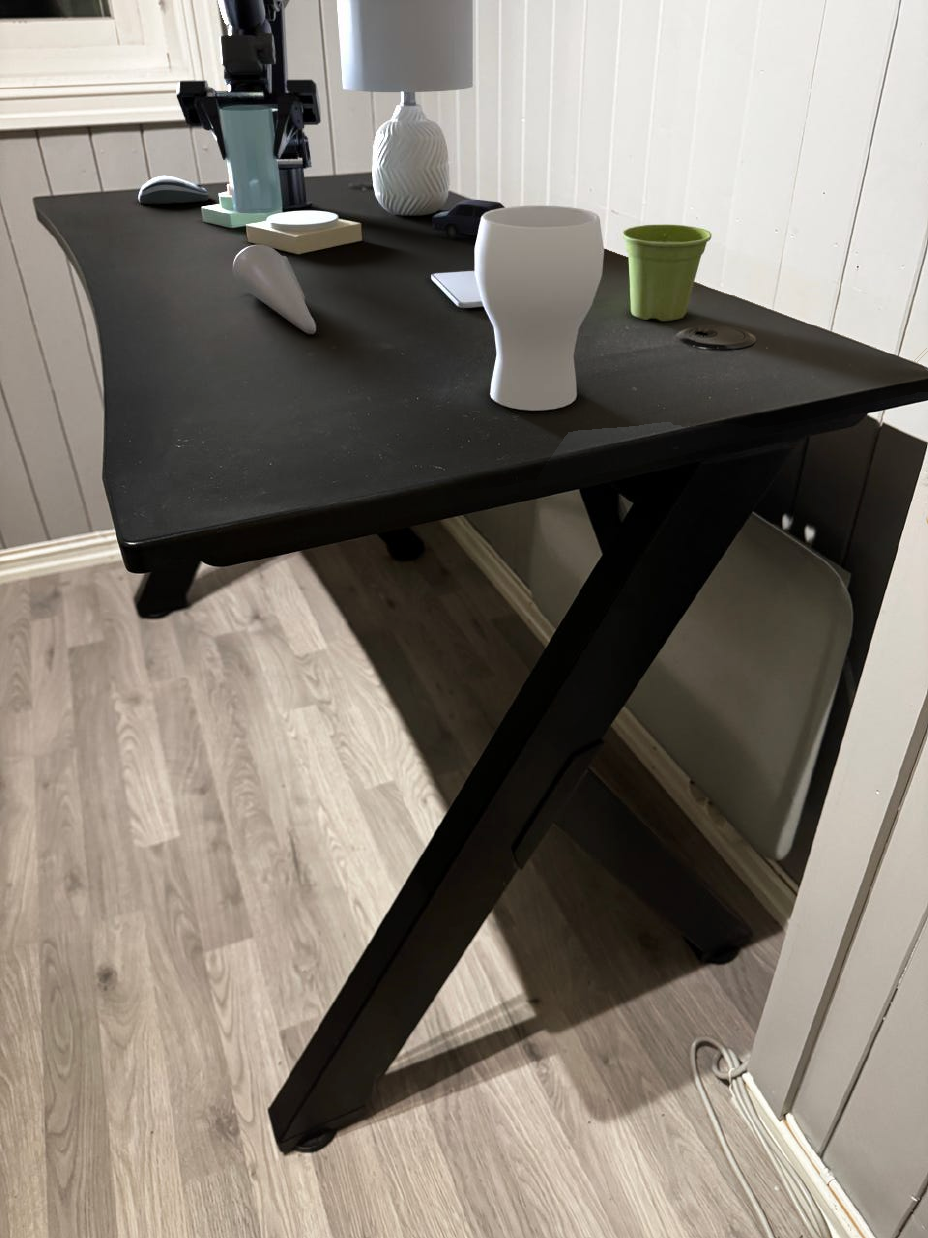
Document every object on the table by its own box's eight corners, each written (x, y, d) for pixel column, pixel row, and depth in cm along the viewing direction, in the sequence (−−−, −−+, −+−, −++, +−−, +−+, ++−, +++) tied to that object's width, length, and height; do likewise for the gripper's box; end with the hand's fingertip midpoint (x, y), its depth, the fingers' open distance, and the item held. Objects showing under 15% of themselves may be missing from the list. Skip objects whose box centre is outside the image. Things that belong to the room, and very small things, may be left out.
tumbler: (258, 201, 132) (246, 103, 124) (292, 207, 128) (282, 106, 121) (223, 209, 127) (208, 108, 120) (258, 215, 124) (245, 111, 117)
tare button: (242, 193, 148) (241, 181, 147) (256, 195, 146) (254, 183, 145) (224, 196, 146) (222, 184, 145) (237, 198, 143) (235, 186, 142)
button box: (254, 212, 153) (250, 186, 151) (283, 218, 148) (280, 192, 146) (203, 221, 147) (199, 194, 145) (231, 228, 142) (227, 200, 140)
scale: (311, 229, 141) (309, 206, 140) (362, 240, 135) (360, 216, 133) (247, 241, 134) (244, 217, 132) (297, 254, 127) (295, 229, 126)
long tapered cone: (258, 356, 95) (233, 292, 109) (318, 356, 98) (286, 293, 111) (258, 302, 92) (232, 243, 106) (320, 304, 94) (287, 245, 108)
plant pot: (649, 331, 97) (658, 246, 92) (599, 309, 104) (605, 229, 99) (717, 319, 100) (730, 236, 95) (664, 299, 107) (673, 220, 102)
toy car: (515, 246, 131) (516, 209, 128) (429, 236, 136) (428, 200, 134) (533, 238, 135) (534, 202, 132) (448, 229, 141) (448, 194, 138)
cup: (514, 368, 87) (519, 199, 79) (613, 389, 82) (629, 212, 74) (451, 401, 80) (448, 219, 72) (555, 427, 75) (565, 235, 67)
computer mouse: (209, 202, 161) (205, 177, 158) (137, 205, 159) (132, 180, 156) (209, 195, 166) (206, 171, 164) (140, 198, 164) (136, 174, 162)
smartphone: (485, 269, 117) (521, 298, 105) (485, 274, 117) (520, 304, 105) (429, 273, 115) (459, 303, 103) (429, 278, 116) (459, 309, 103)
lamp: (417, 197, 164) (408, -56, 143) (497, 211, 152) (501, -62, 131) (327, 212, 152) (304, -60, 132) (407, 229, 140) (395, -68, 120)
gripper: (165, 8, 117) (163, 115, 115) (310, 7, 118) (311, 113, 115) (188, 74, 128) (187, 173, 125) (320, 72, 129) (321, 171, 126)
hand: (250, 157), depth 123 cm, fingers closed on tumbler, 7 cm apart
